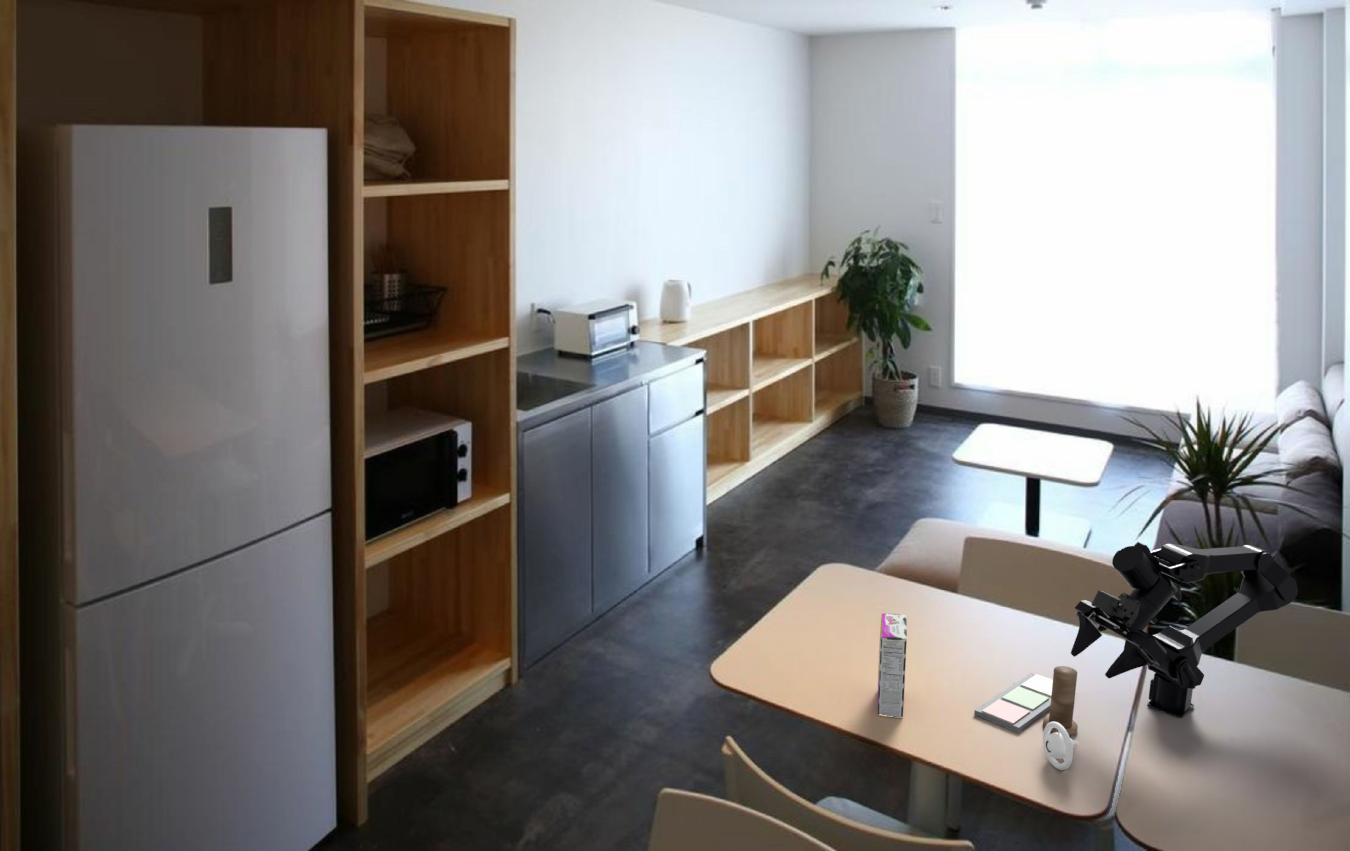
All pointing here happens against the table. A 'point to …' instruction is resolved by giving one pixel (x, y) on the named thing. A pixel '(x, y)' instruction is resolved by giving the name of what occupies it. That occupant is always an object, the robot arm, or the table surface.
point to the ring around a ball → (1058, 745)
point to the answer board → (1019, 703)
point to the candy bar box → (892, 664)
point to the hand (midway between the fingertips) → (1089, 665)
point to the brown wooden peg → (1063, 700)
